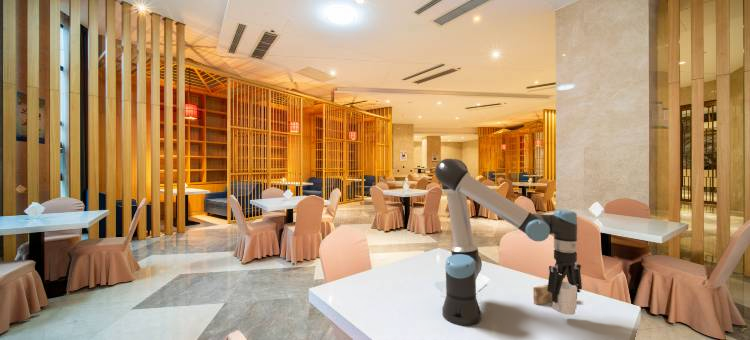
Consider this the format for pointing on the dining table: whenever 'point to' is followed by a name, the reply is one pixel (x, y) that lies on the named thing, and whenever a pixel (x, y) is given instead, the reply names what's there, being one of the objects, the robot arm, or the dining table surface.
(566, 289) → the white cup
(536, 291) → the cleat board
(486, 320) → the dining table surface
